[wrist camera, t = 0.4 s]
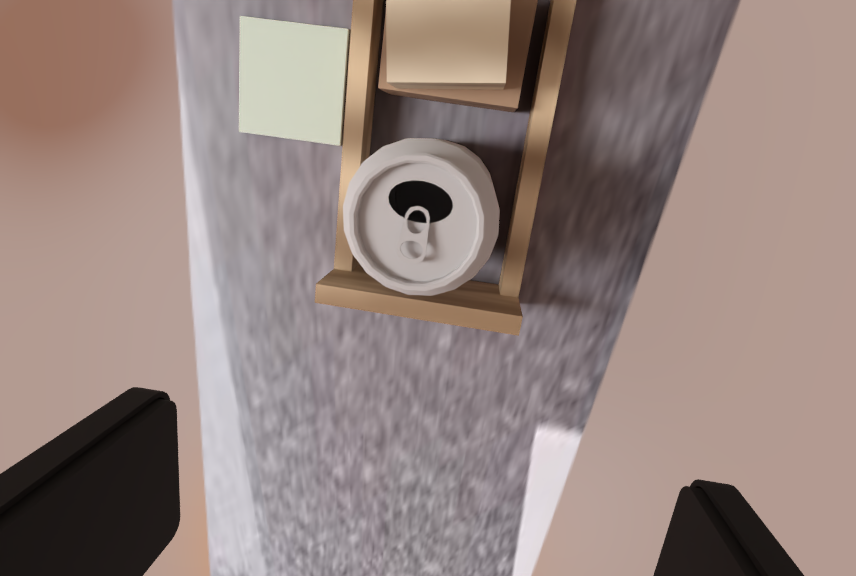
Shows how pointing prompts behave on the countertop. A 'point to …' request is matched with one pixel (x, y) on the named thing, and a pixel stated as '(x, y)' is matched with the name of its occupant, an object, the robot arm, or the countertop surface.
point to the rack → (500, 302)
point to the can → (421, 215)
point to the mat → (292, 80)
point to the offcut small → (447, 43)
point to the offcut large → (484, 98)
